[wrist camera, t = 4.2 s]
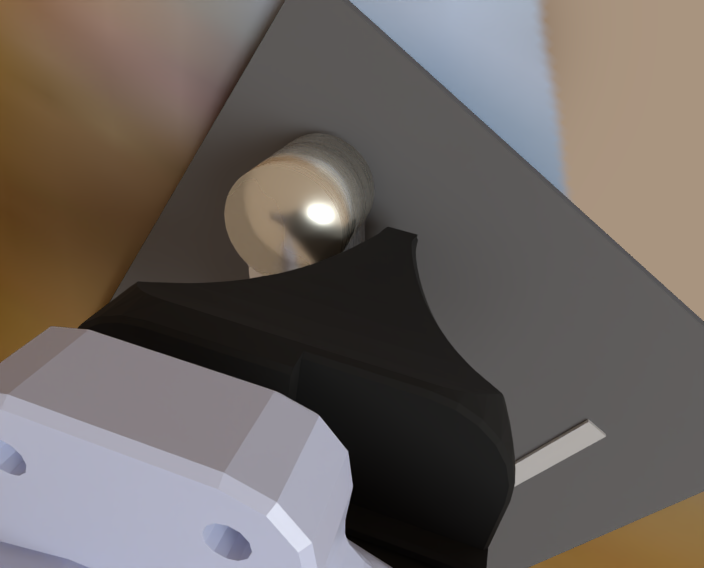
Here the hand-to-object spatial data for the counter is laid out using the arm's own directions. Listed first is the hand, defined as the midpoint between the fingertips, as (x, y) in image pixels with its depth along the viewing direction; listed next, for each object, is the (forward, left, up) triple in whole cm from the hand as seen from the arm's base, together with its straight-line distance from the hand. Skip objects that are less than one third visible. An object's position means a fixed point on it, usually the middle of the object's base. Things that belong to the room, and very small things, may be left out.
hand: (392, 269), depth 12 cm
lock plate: (-5, -2, -1) cm, 5 cm away
